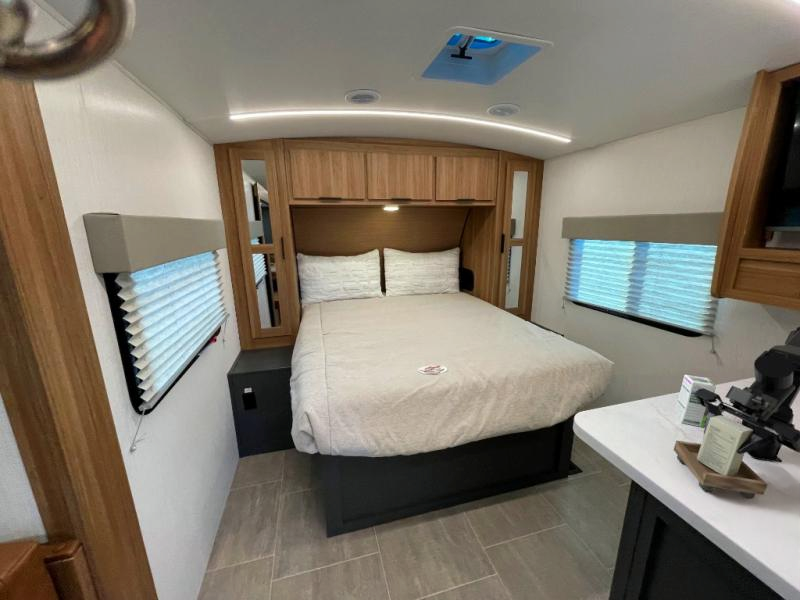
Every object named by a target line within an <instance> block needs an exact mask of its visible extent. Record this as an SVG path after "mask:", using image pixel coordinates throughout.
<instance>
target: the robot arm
mask: <svg viewBox="0 0 800 600" xmlns="http://www.w3.org/2000/svg"><path fill="white" fill-rule="evenodd" d="M753 367H754V379H755V380H754V381H753V383H752V384H751V385H749V387H748V386H745V387H743V388H742V389H741V388H740V387H737V386H734V385H731V387H730V388H729V390H728V392H727V393H726V395H725V396H724V398H726V399H729V400H728V401H729V403H730V404H728V403H727V402H724V401H723V400H722V398H721V396H720V395H719V394H718V393H715V392H714V393H713V392H711V391H709V390H706V389H704V388H702V389H698V390H697V391H696V392H695V393H694V396H695V397H696V399H697V401H698V402H699V404H701V405H702V406H704V407H706V408H707V409H708V415H707V419H706V422H705V425H704V430H703V435H705V432H706V429H707V426H708V423H709V420H710V417H714V416H720V415H722V416H724V415H723V413H724V412H726V413H728V414H729V415H732V416H734V417H736V418H738V419H740V420H741V423H740V424H741V425H743V426H745V427H747V428H750V429H752V430H753V432H752V435H751V437H750V438H749V439H748V440H747V441H746V442H745V443H743V444H742V445H741V446H740V448H739V449H738V450H737V453H739V454H742V453H746V454H748V455H749V456H750V457H752V458H753V459H756V460H762V461H770V462H776V463H782V462H783V459H781V458H780V457H779V456H778V455H779V452H780V450H781V448H782V446H784V447H786V448H788V449H790V450H792V451H793V452H796V453H800V430H799V429H796V428H795V427H796V425H795V424H793V422H794V421H793V420H794V416H795V414H794V410H793V408H792V405H793V403H794V402H795V400H796V398H797V396H798V394H799V393H800V326H797V328H796V330H790V331H789V333H788V335H787V337H786V340H785V341H784V345H783V344H782V345H781V344H779V345H777V344H776V345H773V346H772V347H771V348H769V350H764V351H763V352H762V353H761V354H759V356H758V357H757V358H756V359H755V361H754V363H753ZM731 404H732V405H731Z"/></svg>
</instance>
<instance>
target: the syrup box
mask: <svg viewBox="0 0 800 600" xmlns="http://www.w3.org/2000/svg"><path fill="white" fill-rule="evenodd" d="M702 388H704V389H706V390H709V391H711V392H713V393H715V391H716V389H717V385H716V384H715V383H714V382H713V381H712V380H711V379H710V378H709V377H701V376H697V375H696V376H695V375H689V374H684V376H683V380H682V383H681V387H680V391H679V395H678V399H677V402H676V406H675V409H674V415H675V416H676V417H677V419H678V421H679V422H680V423H681V424H685V425H686V424H687V425H691V426H695V427H699V428H705V425H706V422H707V418H708V409H707V408H706V407H704V406H702V405H701V404H699V402H698V401H697V399H696V397H695V396H694V393H695V392H696V391H697V390H698V389H702Z"/></svg>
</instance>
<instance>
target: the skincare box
mask: <svg viewBox="0 0 800 600" xmlns="http://www.w3.org/2000/svg"><path fill="white" fill-rule="evenodd" d="M722 415H723V414H722ZM722 415H720V416H714V417H710V420H709V423H708V426H707V429H706V432H705V434H703V435H704V436H703V438H702V441H701V443H700V444H701V447H700V450H699V453H698V456H697V460H698V461H700V462H701V463H703V464H705V465H706V466H708V467H710V468H711V469H713V470H715V471H716V472H718V473H720V474H721V475H727V476H733V475H736V474H737V472H738V470H739V467H740V464H741V462H742V461H743V458H744V456H745V453H746V452H745V453H742V454H739V453H737V450H738V449H739V448H740V446H741V445H742V444H743V443H745V442H746V441H747V440H748V439H749V438H750V437H751V435H752V432H753V430H752V429H750V428H747V427H745V426H743V425H741V424H742V423H738V422H737V421H735V420H732V419H730V418H728V417H726V416H724V415H723V416H722Z"/></svg>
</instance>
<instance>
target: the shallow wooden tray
mask: <svg viewBox="0 0 800 600" xmlns="http://www.w3.org/2000/svg"><path fill="white" fill-rule="evenodd" d="M701 444H702V443H697V442H689V441H683V440H675V443H674V446H673V451H674V452H675V453H676V455H677V456H676V459H677V461H679V463H680V464H684V465H686V467H687V468H688V469H689V471H690V472H691V473H692V474H693V475H694V476H695V478H696V479H697V480H698V481H699V482H698V486H699V487H700V489H701V490H702V491H704V492H706V493H707V492H710V493H711V492H712V491H714V489H715V488H719V489H725V490H729V491H737V492H739V494H740V495H741V496H742V497H743V498H744V499H749V500H751V499H753V498H755V496H756V495H761V496H764V494H765V493H766V490H767V487H768V485H769V483H767V482H766V481H765V480H763V478H761V476H759V475H758V474H757V472H755V471H754V470H753V469H752V468H750V467H749V466H748V464H746V463H745V461H743V460H742V462H741V464H740V467H739V470H738V472H737V474H736V475H733V476H727V475H721V474H720V473H718V472H716V471H715V470H713V469H711V468H710V467H708V466H706V465H705V464H703V463H701V462H700V461H698V460H697V456H698V453H699V450H700V447H701Z"/></svg>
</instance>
